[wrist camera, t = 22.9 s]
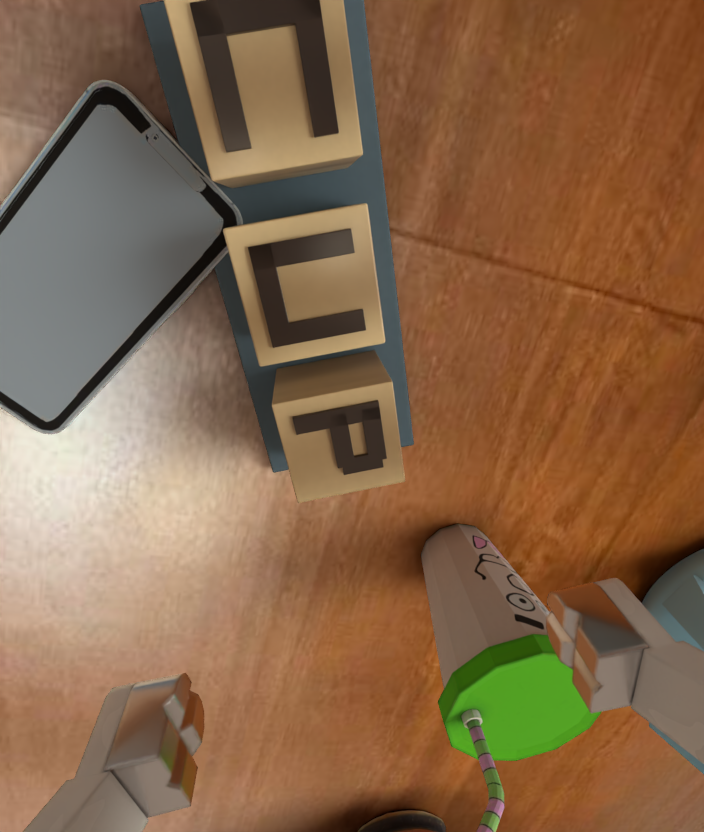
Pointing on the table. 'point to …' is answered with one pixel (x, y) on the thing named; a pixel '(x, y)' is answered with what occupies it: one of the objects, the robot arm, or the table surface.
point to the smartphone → (98, 253)
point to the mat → (293, 199)
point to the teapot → (680, 614)
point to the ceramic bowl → (405, 822)
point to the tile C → (268, 86)
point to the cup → (495, 660)
